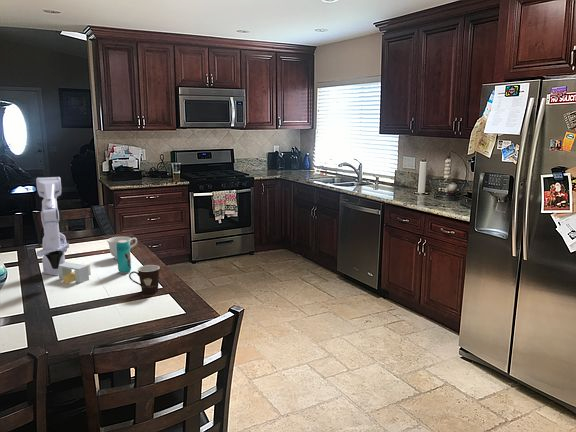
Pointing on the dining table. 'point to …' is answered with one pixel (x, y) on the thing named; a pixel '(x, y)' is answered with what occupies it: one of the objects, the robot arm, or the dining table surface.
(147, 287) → the coffee mug
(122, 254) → the beverage can
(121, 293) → the dining table surface
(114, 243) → the teacup
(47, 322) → the dining table surface
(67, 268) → the housing
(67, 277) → the plug
